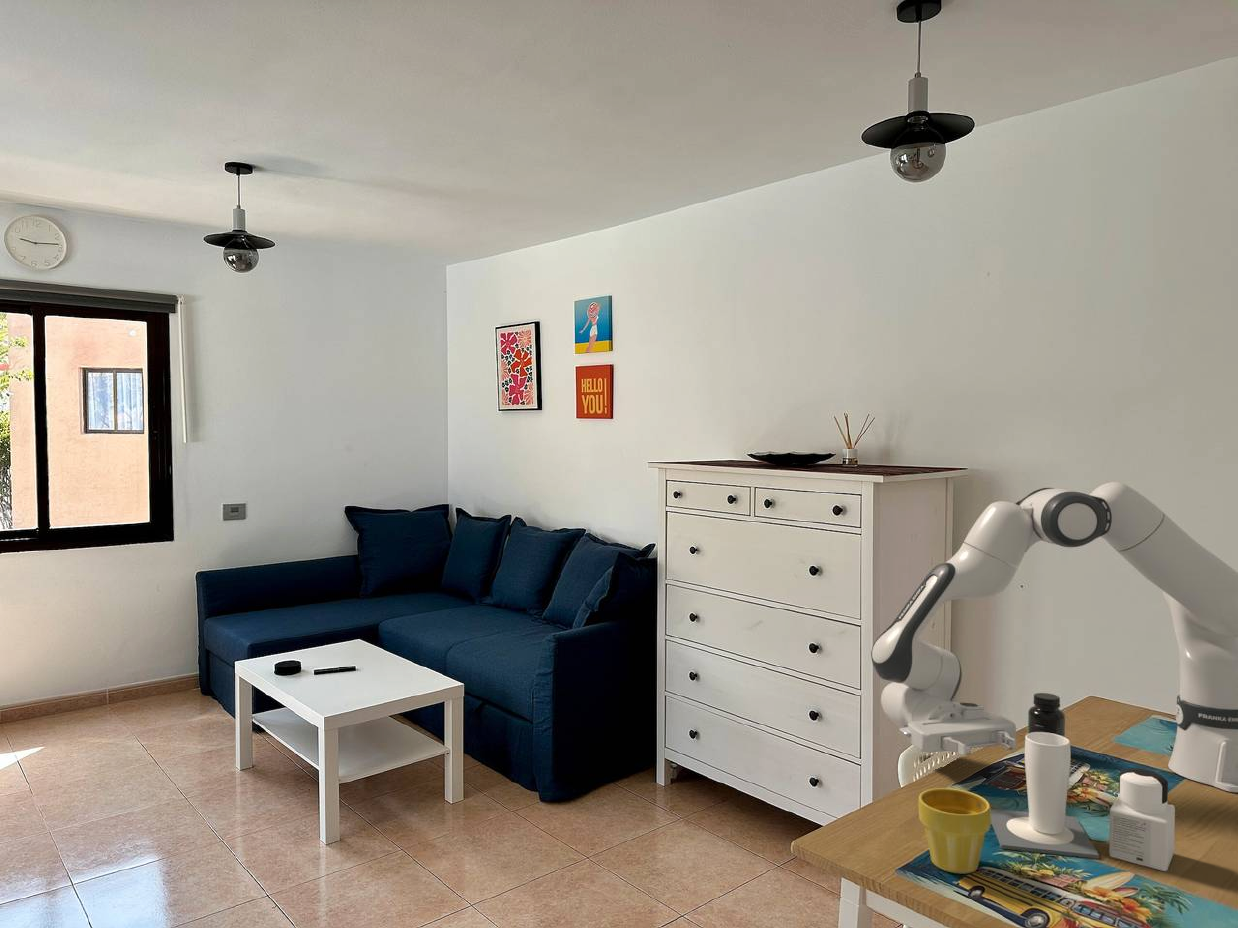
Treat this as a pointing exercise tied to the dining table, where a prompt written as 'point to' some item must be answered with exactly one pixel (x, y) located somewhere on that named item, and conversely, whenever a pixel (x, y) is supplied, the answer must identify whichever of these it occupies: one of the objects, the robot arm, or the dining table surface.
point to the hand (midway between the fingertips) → (990, 747)
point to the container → (1142, 820)
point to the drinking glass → (1047, 780)
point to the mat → (1040, 835)
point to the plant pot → (954, 827)
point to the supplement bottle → (1046, 715)
